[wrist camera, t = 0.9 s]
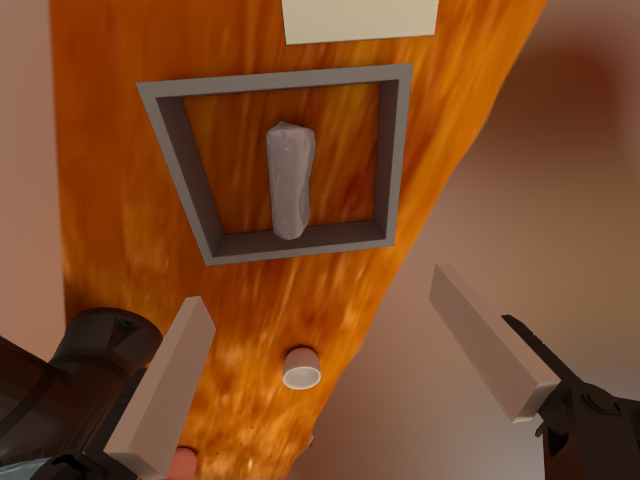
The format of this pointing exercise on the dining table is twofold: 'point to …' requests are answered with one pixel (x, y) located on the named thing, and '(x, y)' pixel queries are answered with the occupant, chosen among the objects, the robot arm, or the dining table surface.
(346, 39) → the board
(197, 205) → the access frame
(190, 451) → the ceramic vessels
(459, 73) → the dining table surface
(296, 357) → the teacup
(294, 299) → the dining table surface
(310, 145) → the stone block
